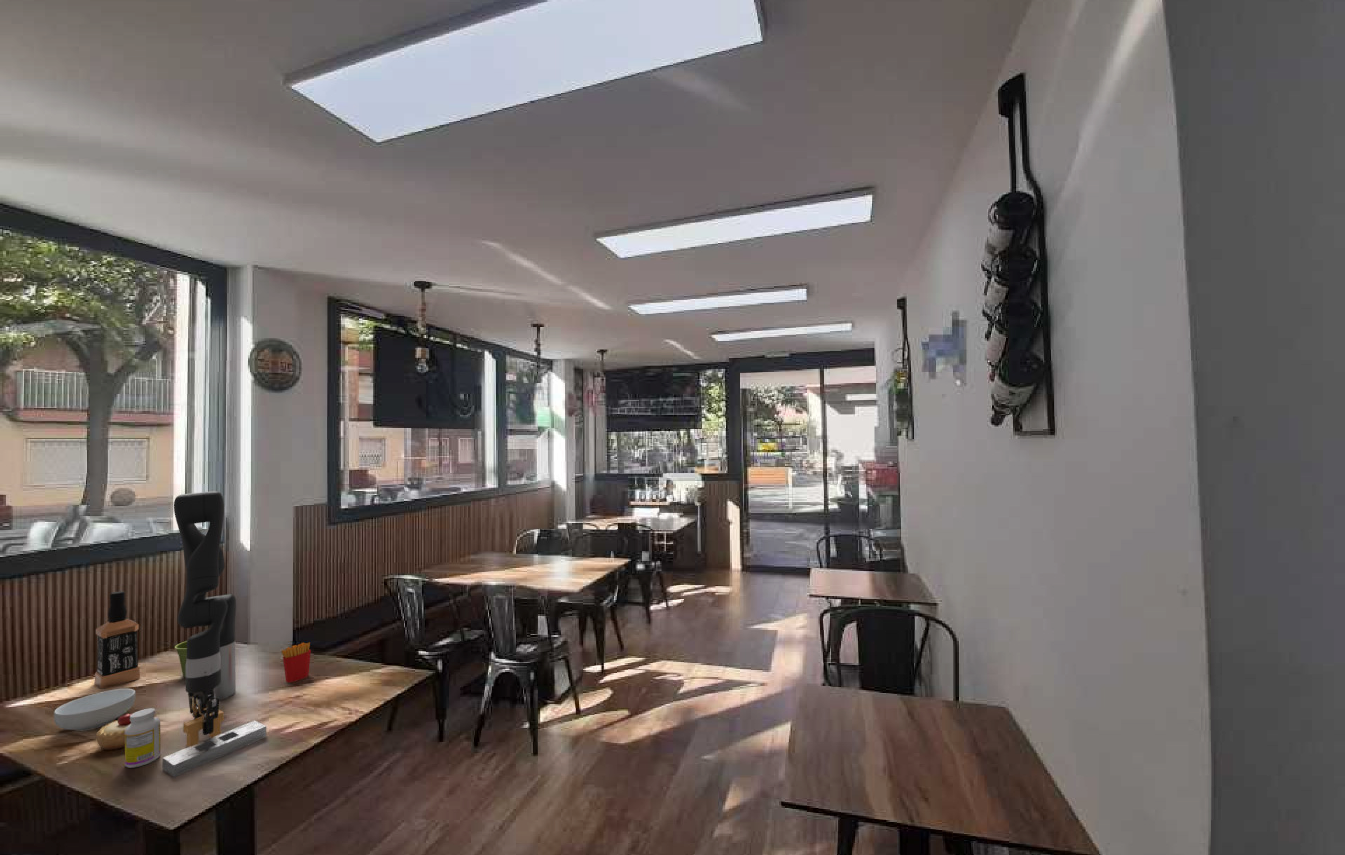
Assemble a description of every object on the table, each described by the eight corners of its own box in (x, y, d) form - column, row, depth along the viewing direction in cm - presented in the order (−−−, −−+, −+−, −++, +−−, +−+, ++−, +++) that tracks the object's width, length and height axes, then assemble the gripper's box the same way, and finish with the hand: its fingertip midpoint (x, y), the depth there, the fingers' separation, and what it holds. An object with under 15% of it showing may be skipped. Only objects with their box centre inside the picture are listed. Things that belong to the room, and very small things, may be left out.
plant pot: (197, 680, 188) (197, 648, 188) (165, 680, 188) (165, 649, 188) (226, 665, 200) (226, 636, 200) (195, 666, 200) (195, 637, 200)
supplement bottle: (141, 754, 142) (141, 707, 142) (167, 753, 142) (167, 705, 143) (117, 770, 135) (117, 720, 135) (144, 768, 136) (144, 718, 136)
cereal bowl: (148, 714, 164) (148, 691, 164) (73, 743, 148) (73, 718, 149) (115, 706, 170) (115, 684, 170) (40, 734, 154) (40, 710, 154)
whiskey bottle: (140, 678, 191) (140, 590, 191) (101, 690, 182) (101, 597, 183) (132, 672, 196) (132, 587, 197) (93, 683, 188) (93, 593, 189)
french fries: (307, 673, 191) (307, 639, 191) (312, 675, 189) (312, 641, 189) (280, 682, 184) (279, 647, 184) (285, 684, 182) (284, 650, 182)
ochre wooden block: (183, 746, 145) (183, 723, 145) (219, 732, 152) (219, 709, 152) (187, 749, 144) (187, 725, 144) (223, 734, 151) (223, 712, 151)
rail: (162, 769, 135) (162, 757, 135) (254, 730, 152) (254, 720, 152) (173, 777, 131) (173, 765, 131) (266, 736, 149) (266, 726, 149)
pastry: (103, 759, 141) (101, 726, 141) (92, 745, 148) (90, 714, 147) (163, 735, 151) (162, 705, 151) (150, 724, 158) (149, 695, 158)
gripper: (175, 671, 149) (176, 732, 148) (197, 681, 142) (197, 744, 141) (208, 661, 155) (209, 719, 155) (231, 670, 148) (231, 731, 148)
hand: (203, 731), depth 148 cm, fingers open, 5 cm apart
